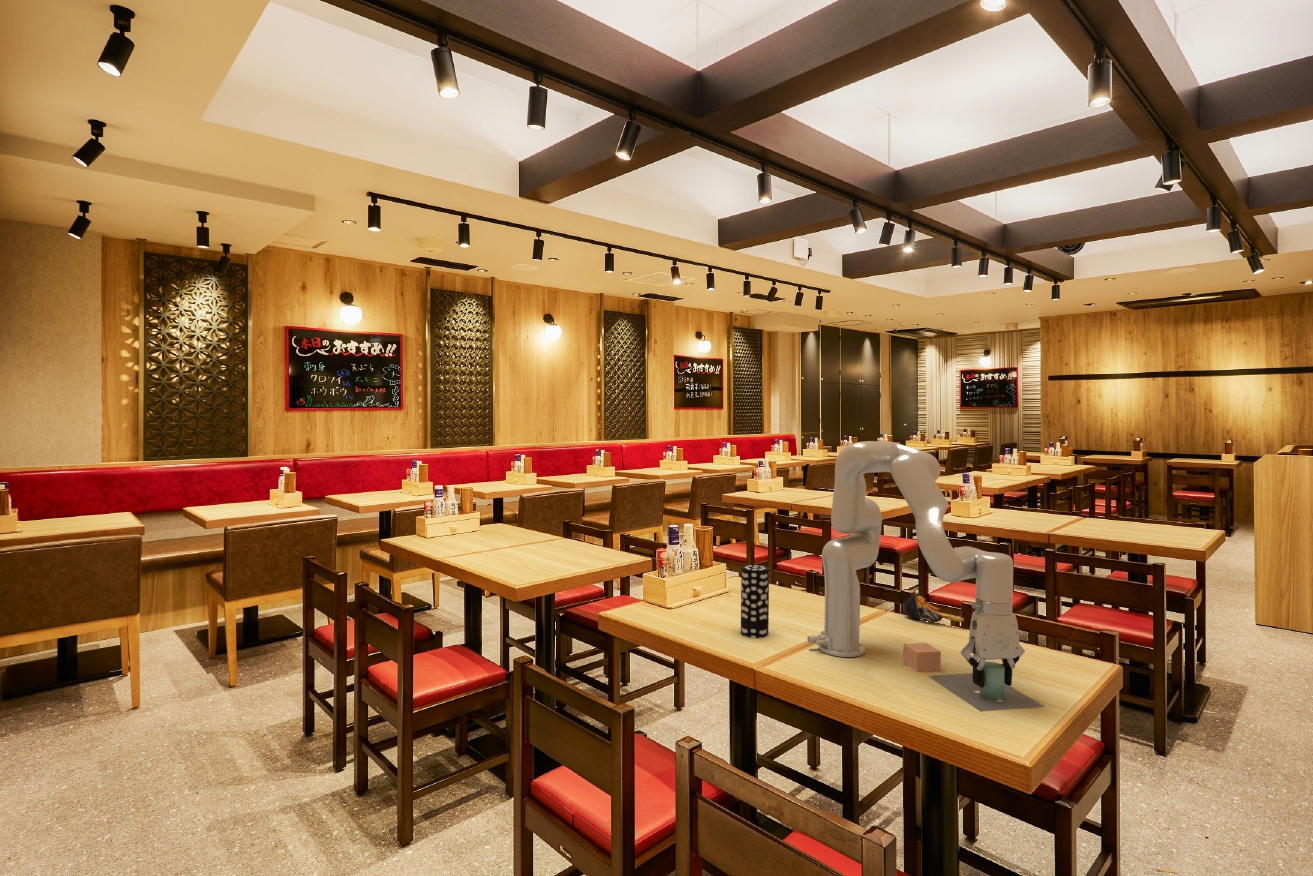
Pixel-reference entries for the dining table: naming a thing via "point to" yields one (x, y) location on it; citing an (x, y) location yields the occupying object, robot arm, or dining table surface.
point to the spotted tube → (754, 601)
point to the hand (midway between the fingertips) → (992, 683)
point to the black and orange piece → (925, 610)
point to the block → (921, 657)
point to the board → (971, 694)
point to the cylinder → (993, 681)
